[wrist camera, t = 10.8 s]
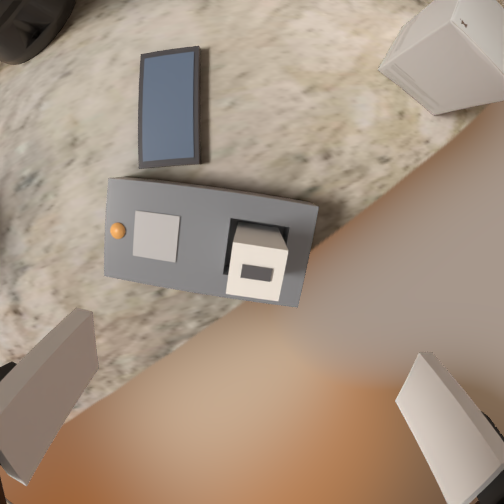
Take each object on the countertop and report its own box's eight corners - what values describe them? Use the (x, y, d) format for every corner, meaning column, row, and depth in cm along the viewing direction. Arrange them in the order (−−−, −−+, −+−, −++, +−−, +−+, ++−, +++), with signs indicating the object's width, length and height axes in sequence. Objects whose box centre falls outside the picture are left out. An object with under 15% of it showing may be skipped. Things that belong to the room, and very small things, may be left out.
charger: (238, 221, 30) (232, 242, 21) (277, 227, 30) (288, 251, 21) (232, 259, 31) (225, 294, 22) (271, 265, 31) (278, 302, 22)
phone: (144, 57, 26) (140, 54, 25) (200, 49, 26) (198, 45, 25) (142, 168, 30) (138, 168, 29) (200, 164, 30) (198, 163, 28)
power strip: (124, 176, 30) (107, 178, 26) (310, 202, 31) (319, 206, 27) (119, 264, 32) (103, 276, 28) (292, 291, 33) (297, 308, 29)
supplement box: (434, 118, 28) (523, 102, 13) (375, 70, 27) (448, 19, 12) (456, 69, 26) (534, 42, 11) (402, 24, 25) (468, -29, 10)
